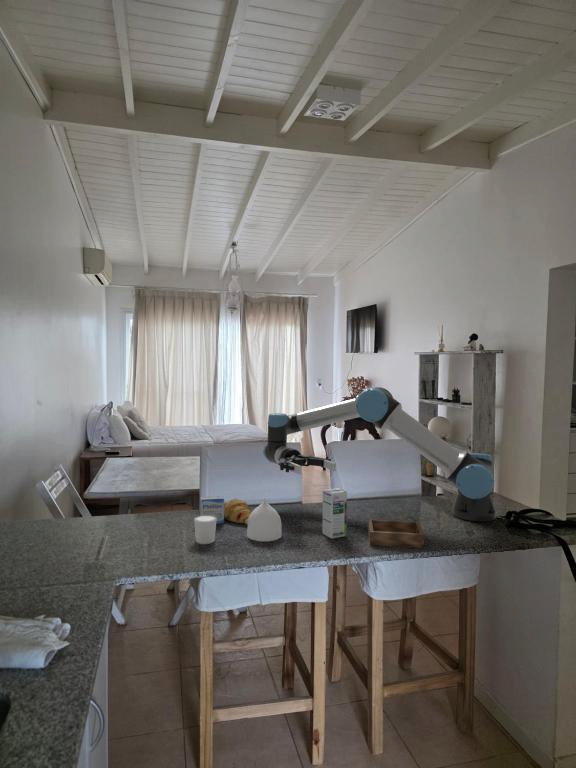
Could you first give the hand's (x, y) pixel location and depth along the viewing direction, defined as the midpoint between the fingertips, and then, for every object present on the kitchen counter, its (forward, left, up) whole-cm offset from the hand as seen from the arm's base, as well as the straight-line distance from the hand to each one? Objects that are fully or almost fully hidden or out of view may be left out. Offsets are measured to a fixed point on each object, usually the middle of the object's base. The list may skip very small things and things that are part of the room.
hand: (317, 468), depth 169 cm
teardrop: (+16, +12, -20) cm, 28 cm away
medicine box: (+36, +2, -20) cm, 41 cm away
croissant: (+29, -4, -20) cm, 35 cm away
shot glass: (+33, +20, -20) cm, 43 cm away
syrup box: (-6, +8, -20) cm, 22 cm away
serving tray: (-25, +9, -20) cm, 33 cm away
